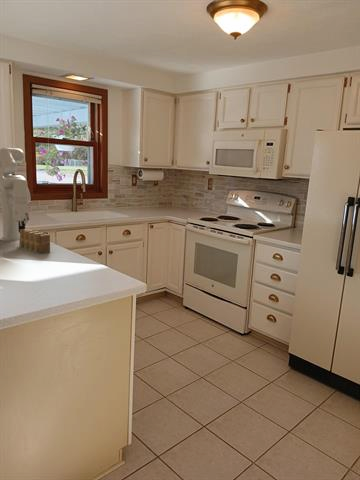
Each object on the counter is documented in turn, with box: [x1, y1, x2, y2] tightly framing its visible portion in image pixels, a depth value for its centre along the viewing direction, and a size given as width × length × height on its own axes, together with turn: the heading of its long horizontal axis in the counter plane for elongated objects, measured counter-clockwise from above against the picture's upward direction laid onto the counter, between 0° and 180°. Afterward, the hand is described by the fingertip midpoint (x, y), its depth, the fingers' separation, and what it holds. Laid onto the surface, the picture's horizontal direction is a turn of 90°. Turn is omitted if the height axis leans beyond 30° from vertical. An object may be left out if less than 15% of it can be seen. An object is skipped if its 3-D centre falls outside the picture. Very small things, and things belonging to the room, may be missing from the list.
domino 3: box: [29, 230, 40, 251], centre depth 204 cm, size 2×5×10 cm, turn 144°
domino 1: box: [18, 228, 31, 247], centre depth 210 cm, size 2×5×10 cm, turn 144°
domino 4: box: [34, 232, 45, 252], centre depth 202 cm, size 2×5×10 cm, turn 144°
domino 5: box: [39, 233, 51, 255], centre depth 199 cm, size 2×5×10 cm, turn 144°
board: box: [16, 245, 53, 256], centre depth 206 cm, size 24×8×1 cm, turn 54°
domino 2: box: [24, 229, 35, 249], centre depth 207 cm, size 2×5×10 cm, turn 144°
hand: (22, 232), depth 211 cm, fingers closed
